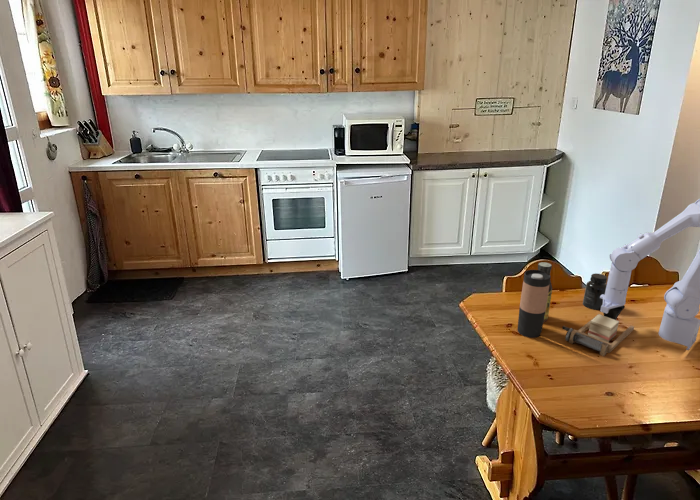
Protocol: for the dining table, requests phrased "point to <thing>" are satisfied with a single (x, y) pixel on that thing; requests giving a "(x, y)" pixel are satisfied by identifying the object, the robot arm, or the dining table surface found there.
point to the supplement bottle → (595, 291)
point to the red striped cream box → (603, 328)
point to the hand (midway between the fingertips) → (608, 325)
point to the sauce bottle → (547, 268)
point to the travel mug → (533, 303)
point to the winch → (585, 341)
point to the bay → (610, 345)
